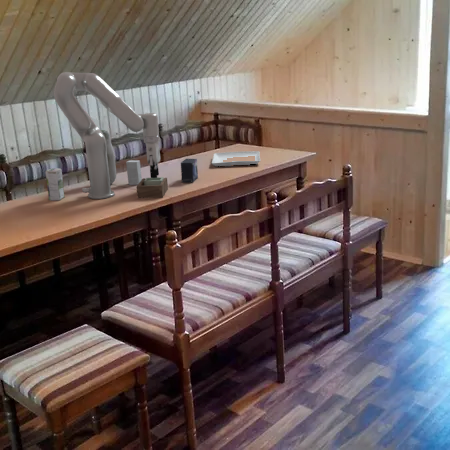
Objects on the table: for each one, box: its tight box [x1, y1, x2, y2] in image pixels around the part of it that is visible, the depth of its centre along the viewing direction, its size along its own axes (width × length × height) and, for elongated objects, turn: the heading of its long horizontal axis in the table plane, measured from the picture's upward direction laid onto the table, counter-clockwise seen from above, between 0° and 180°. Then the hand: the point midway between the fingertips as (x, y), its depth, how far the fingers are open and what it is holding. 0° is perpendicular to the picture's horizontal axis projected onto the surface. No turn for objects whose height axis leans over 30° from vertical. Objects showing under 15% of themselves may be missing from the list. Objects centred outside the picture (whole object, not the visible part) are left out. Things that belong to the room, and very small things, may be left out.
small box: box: [180, 158, 199, 184], centre depth 323 cm, size 11×6×10 cm, turn 168°
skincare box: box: [125, 159, 143, 186], centre depth 321 cm, size 6×4×12 cm
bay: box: [135, 177, 169, 199], centre depth 301 cm, size 16×12×6 cm
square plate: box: [211, 150, 261, 167], centre depth 361 cm, size 27×27×4 cm
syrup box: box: [45, 167, 65, 201], centre depth 299 cm, size 6×6×14 cm
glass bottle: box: [100, 129, 117, 185], centre depth 321 cm, size 10×10×28 cm
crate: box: [144, 167, 165, 186], centre depth 305 cm, size 8×8×11 cm
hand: (154, 176), depth 307 cm, fingers open, 3 cm apart
